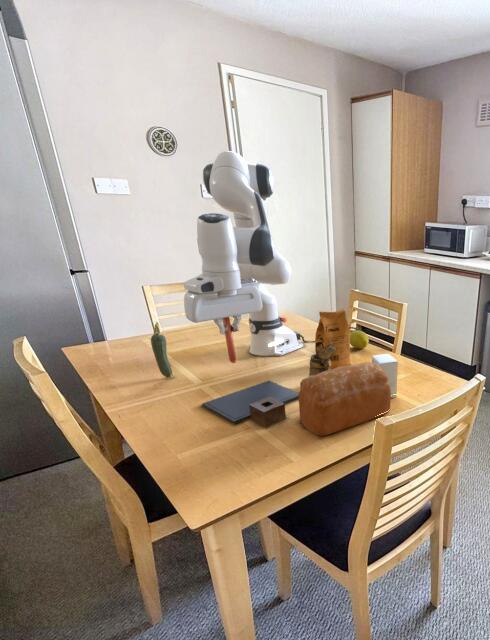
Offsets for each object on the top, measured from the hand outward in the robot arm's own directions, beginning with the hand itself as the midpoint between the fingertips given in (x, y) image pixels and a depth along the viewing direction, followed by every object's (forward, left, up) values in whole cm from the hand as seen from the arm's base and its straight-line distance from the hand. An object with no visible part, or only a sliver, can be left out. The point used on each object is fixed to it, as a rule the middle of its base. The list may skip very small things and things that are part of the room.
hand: (229, 332), depth 112 cm
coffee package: (-46, -9, -25) cm, 53 cm away
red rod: (0, 0, -9) cm, 9 cm away
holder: (-3, +9, -25) cm, 27 cm away
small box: (-39, +23, -25) cm, 52 cm away
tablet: (-7, -4, -25) cm, 26 cm away
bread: (-19, +25, -25) cm, 41 cm away
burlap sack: (-28, +5, -25) cm, 38 cm away
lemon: (-68, -16, -25) cm, 74 cm away
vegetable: (+2, -41, -25) cm, 48 cm away
